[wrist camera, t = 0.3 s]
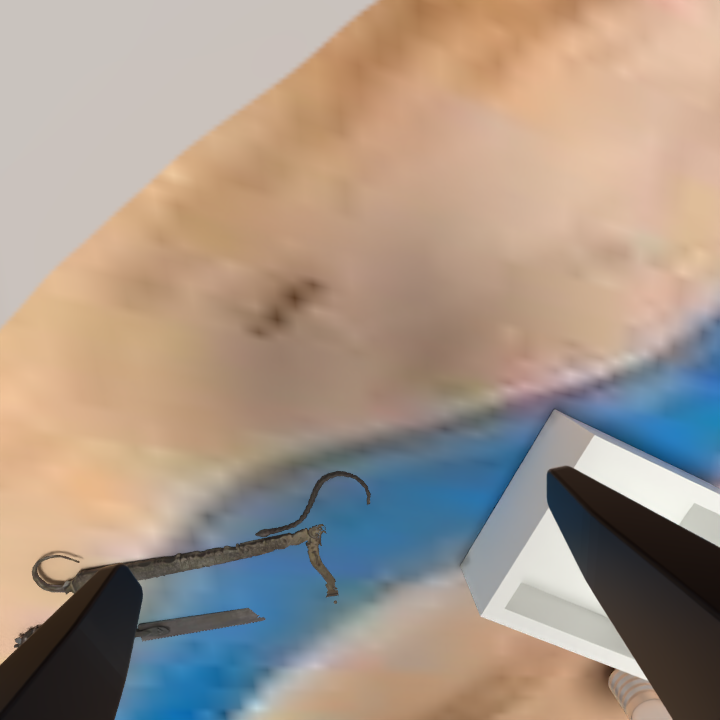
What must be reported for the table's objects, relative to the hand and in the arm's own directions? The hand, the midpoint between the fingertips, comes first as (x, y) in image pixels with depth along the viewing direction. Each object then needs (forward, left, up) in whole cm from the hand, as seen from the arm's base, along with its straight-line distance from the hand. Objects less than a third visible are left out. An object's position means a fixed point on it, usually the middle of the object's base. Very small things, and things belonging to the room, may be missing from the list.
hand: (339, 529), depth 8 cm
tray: (-3, -19, -15) cm, 24 cm away
